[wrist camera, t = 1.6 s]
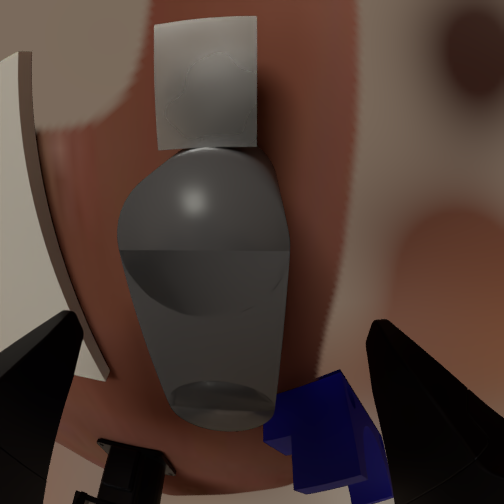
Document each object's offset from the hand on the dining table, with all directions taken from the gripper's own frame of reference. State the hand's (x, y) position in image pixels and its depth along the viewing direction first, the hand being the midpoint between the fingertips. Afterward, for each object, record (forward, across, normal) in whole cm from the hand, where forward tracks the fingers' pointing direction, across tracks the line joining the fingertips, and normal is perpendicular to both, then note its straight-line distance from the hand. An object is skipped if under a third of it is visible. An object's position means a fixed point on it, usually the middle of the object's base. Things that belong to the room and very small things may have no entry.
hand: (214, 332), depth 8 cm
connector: (+3, 0, -2) cm, 4 cm away
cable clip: (+4, -7, +12) cm, 15 cm away
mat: (+3, +12, -1) cm, 12 cm away
